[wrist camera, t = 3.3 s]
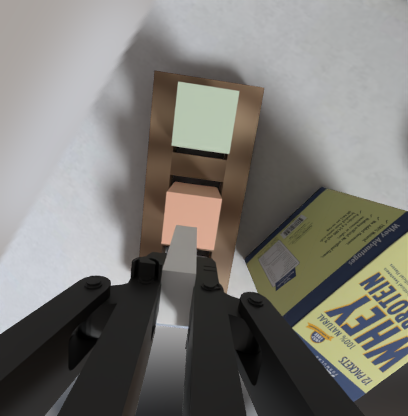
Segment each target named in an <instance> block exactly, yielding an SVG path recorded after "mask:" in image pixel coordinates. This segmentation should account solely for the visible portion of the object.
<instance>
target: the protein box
mask: <svg viewBox="0 0 408 416" xmlns="http://www.w3.org/2000/svg"><path fill="white" fill-rule="evenodd" d="M245 262H246V265H247V267H248V270H249V272H250V274H251V277H252V279H253V282H254V284H255V287H256V289H257V292H258V293H259V294H261V295H263V296H264V297H266V298H267V299H268V300H269V301H270V302H271V303H272V304H273V306H274V307H275V308H276V309H277V310H278V312H279V313H280V314H281V315H282V317H283V318H284V319H285V320H286V321H287V323H288V324H289V325H290V326H291V327H292V329H293V330H294V331H295V332H296V333H297V335H298V336H299V337H300V338H301V339H302V341H303V342H304V343H305V344H306V345H307V347H308V348H309V349H310V350H311V352H312V353H313V354H314V355H315V356H316V358H317V359H318V360H319V361H320V362H321V364H322V365H323V366H324V367H325V368H326V370H327V371H328V372H329V373H330V374H331V376H332V377H333V378H334V379H335V380H336V382H337V383H338V384H339V385H340V387H341V388H342V389H343V390H344V391H345V393H346V394H347V395H348V396H349V397H350V399H351V400H352V401H353V402H354V401H355V400H357V399H358V398H360V397H361V396H363V395H364V394H365V393H366V392H368V391H369V390H370V389H372V388H373V387H374V386H376V385H377V384H378V383H380V382H381V381H383V380H384V379H385V378H387V377H388V376H389V375H391V374H392V373H393V372H395V371H396V370H398V369H399V368H400V367H401V366H403V365H404V364H406V363H407V362H408V211H405V210H401V209H398V208H394V207H391V206H387V205H384V204H380V203H377V202H373V201H370V200H366V199H363V198H359V197H356V196H352V195H349V194H346V193H342V192H338V191H335V190H331V189H328V188H324V187H321V188H320V189H319V190H318V191H317V192H316V193H315V194H314V195H313V196H312V197H311V198H310V199H308V200H307V201H306V202H305V203H304V204H303V205H302V206H301V207H300V208H299V209H298V210H297V211H296V212H295V213H293V214H292V215H291V216H290V217H289V218H288V219H287V220H286V221H285V222H284V223H283V224H282V225H281V226H280V227H278V228H277V229H276V230H275V231H274V232H273V233H272V234H271V235H270V236H269V237H268V238H267V239H266V240H265V241H263V242H262V243H261V244H260V245H259V246H258V247H257V248H256V249H255V250H254V251H253V252H252V253H251V254H250V255H249V256H247V257H246V258H245Z"/></svg>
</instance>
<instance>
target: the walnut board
mask: <svg viewBox="0 0 408 416" xmlns="http://www.w3.org/2000/svg"><path fill="white" fill-rule="evenodd" d="M178 82H185V83H191V84H197V85H204V86H210V87H216V88H223V89H229V90H236V91H239V97H238V104H237V110H236V116H235V122H234V128H233V135H232V141H231V147H230V153H229V154H224V159H220V158H213V157H206V156H199V155H192V154H185V153H178V152H176V148H177V146H172V136H173V126H174V116H175V107H176V97H177V87H178ZM263 93H264V88H262V87H255V86H249V85H243V84H237V83H230V82H224V81H218V80H211V79H205V78H199V77H192V76H186V75H180V74H173V73H167V72H161V71H154V84H153V96H152V108H151V120H150V133H149V145H148V157H147V169H146V182H145V194H144V206H143V218H142V231H141V243H140V255H139V257H144V256H147V255H148V254H150V253H151V252H158V253H165V249H166V246H170V245H168V244H161V242H162V232H163V222H164V213H165V203H166V193H167V191H168V189H169V188H170V187H171V186H172V184H173V175H175V176H183V177H190V178H197V179H204V180H211V181H219V182H220V186H219V193H220V195H221V198H222V203H221V209H220V215H219V222H218V228H217V234H216V240H215V246H214V250H208V249H200V248H197V250H204V251H209V257H208V258H212V259H213V260H214V261H215V262H216V267H217V273H218V279H219V283H220V284H221V285H222V287H223V289H224V292H225V293H226V294H227V289H228V284H229V278H230V273H231V267H232V262H233V256H234V251H235V246H236V240H237V235H238V229H239V224H240V218H241V213H242V207H243V202H244V197H245V191H246V186H247V180H248V175H249V169H250V164H251V158H252V153H253V147H254V142H255V137H256V131H257V126H258V120H259V115H260V109H261V104H262V98H263Z"/></svg>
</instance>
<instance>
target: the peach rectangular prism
mask: <svg viewBox="0 0 408 416" xmlns="http://www.w3.org/2000/svg"><path fill="white" fill-rule="evenodd" d="M221 203H222V198H221V195H220V193H219V191H218V189H217V187H210V186H203V185H196V184H189V183H181V182H174V184H173V185H172V186H171V187H170V188H169V189H168V191H167V193H166V203H165V213H164V222H163V232H162V242H161V244H168V245H170V243H171V240H172V237H173V233H174V230H175V227H176V225H181V226H189V227H196V228H197V248H200V249H208V250H214V246H215V240H216V234H217V228H218V222H219V215H220V209H221Z"/></svg>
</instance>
